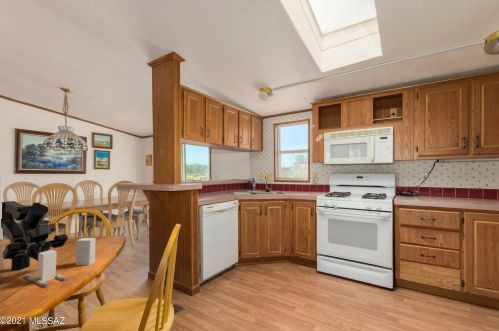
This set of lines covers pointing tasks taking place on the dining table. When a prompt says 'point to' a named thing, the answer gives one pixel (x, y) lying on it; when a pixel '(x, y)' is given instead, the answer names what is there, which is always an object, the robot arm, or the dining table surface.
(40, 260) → the slider block
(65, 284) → the dining table surface
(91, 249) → the skincare box
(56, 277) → the track
